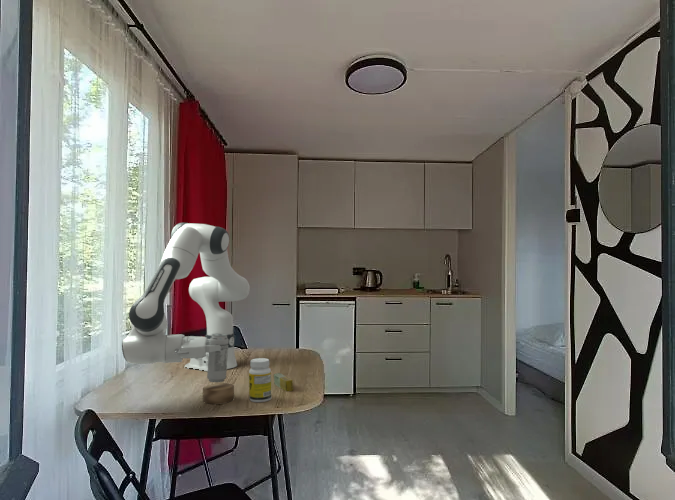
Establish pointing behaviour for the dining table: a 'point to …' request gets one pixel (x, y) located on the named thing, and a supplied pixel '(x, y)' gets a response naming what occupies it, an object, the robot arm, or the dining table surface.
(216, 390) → the wooden bowl
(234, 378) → the dining table surface
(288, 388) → the medication box
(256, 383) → the supplement bottle
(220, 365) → the energy drink can
